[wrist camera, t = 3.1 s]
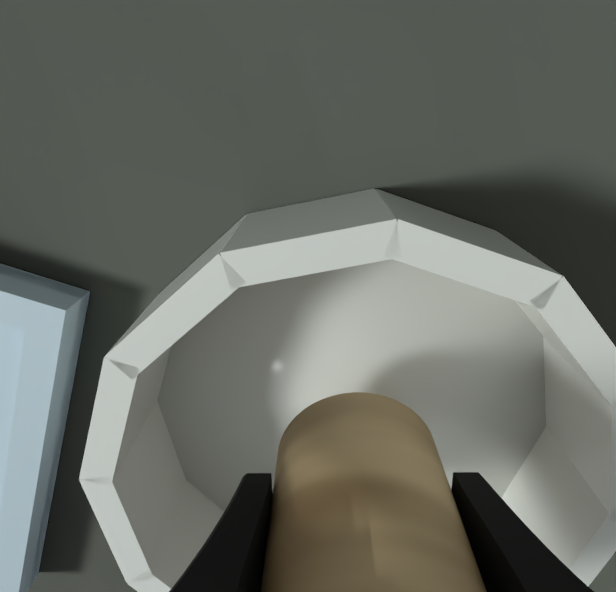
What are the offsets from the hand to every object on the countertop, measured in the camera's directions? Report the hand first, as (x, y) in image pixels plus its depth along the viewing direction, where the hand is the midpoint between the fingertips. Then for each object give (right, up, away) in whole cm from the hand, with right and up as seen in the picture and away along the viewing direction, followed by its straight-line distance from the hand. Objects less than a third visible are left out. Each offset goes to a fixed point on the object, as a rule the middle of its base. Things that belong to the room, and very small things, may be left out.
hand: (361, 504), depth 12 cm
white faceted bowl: (0, +2, +4) cm, 4 cm away
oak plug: (0, +1, +2) cm, 2 cm away
